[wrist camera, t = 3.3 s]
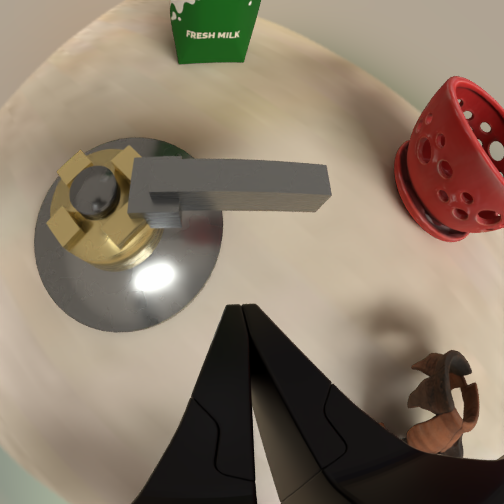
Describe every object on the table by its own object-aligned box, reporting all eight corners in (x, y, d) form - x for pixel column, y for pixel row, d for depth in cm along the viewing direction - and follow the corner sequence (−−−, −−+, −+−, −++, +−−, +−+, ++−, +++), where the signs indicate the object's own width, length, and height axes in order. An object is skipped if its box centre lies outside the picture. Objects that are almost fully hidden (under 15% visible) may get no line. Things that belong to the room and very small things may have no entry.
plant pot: (445, 149, 28) (505, 100, 17) (474, 250, 25) (554, 217, 14) (364, 129, 26) (426, 51, 15) (393, 253, 23) (500, 203, 12)
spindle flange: (35, 325, 17) (-19, 322, 10) (58, 152, 20) (28, 106, 14) (225, 331, 19) (237, 336, 13) (221, 142, 23) (229, 85, 16)
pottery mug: (340, 406, 20) (426, 372, 14) (391, 360, 26) (456, 323, 20) (392, 503, 15) (475, 490, 9) (432, 444, 21) (497, 421, 15)
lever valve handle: (69, 271, 17) (20, 248, 11) (81, 180, 19) (48, 132, 12) (298, 269, 20) (339, 244, 14) (289, 177, 21) (318, 127, 15)
